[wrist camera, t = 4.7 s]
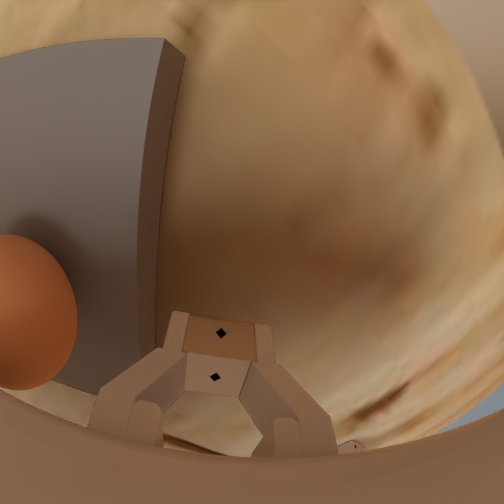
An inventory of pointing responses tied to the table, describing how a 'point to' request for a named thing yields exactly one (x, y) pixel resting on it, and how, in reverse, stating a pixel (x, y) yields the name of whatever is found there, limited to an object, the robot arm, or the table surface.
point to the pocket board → (92, 184)
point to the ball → (33, 314)
